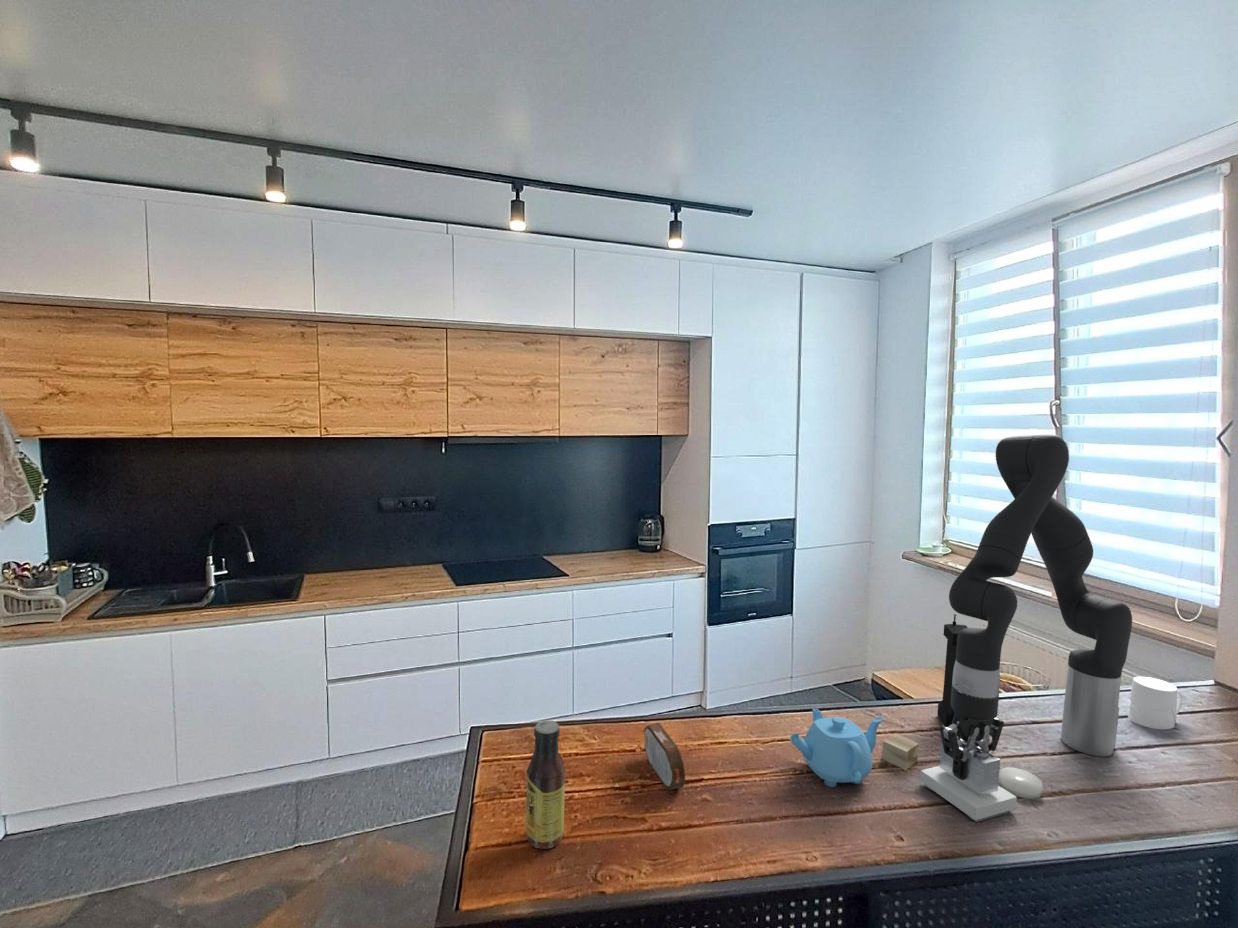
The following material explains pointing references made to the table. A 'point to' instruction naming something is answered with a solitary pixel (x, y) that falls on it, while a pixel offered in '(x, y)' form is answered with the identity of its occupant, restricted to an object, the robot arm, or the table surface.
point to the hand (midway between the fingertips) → (968, 774)
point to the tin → (664, 756)
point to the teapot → (838, 748)
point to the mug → (1154, 703)
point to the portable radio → (949, 672)
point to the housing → (976, 769)
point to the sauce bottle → (545, 789)
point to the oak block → (900, 751)
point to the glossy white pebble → (1020, 783)
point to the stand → (968, 795)
